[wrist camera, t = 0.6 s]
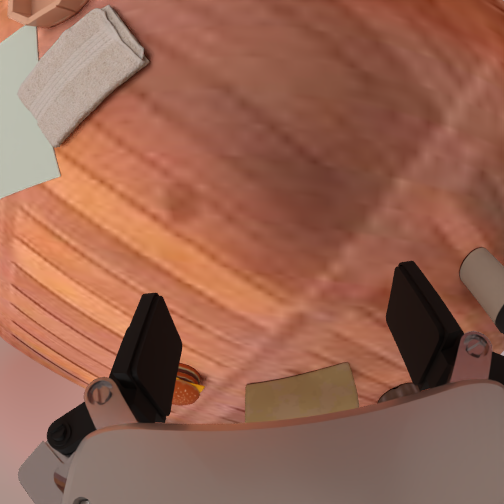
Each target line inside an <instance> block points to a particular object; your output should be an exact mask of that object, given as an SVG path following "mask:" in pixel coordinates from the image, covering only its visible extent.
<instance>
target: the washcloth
mask: <svg viewBox="0 0 504 504" xmlns="http://www.w3.org/2000/svg"><path fill="white" fill-rule="evenodd" d="M148 63H149V60H148V59H147V58H146V57H145V55H144V47H143V48H142V46H141V45H140V44H139V42H138V41H137V39H136V38H135V37H134V35H132V33H131V32H130V31H129V30H128V28H127V27H126V26H125V24H124V23H123V21H122V20H121V19H120V17H119V16H118V14H117V13H116V12H115V10H114V9H113V8H112V7H111V6H110V5H107V6H106V7H104V8H102V9H99V8H95V9H93V10H91V11H90V12H89V13H88V14H86V15H85V16H84V17H83V18H82V19H81V20H79V21H78V22H77V23H76V24H74V25H73V26H72V27H70V28H69V29H66V30H65V31H64V32H63V33H62V35H61V36H60V38H59V39H58V40H57V41H56V42H55V43H54V44H53V46H52V47H51V48H50V49H49V50H48V51H47V52H46V53H45V54H44V55H43V57H41V59H40V60H39V61H38V63H37V64H36V66H35V67H34V68H33V70H32V71H31V72H30V73H29V75H28V76H27V77H26V78H25V80H24V81H23V83H22V84H21V85H20V87H19V90H18V93H17V95H18V97H19V99H20V100H21V102H22V103H23V104H24V106H25V107H26V108H27V109H28V110H29V111H30V112H31V113H32V115H33V116H34V118H35V119H36V120H37V122H38V123H37V125H38V126H39V128H40V129H41V131H42V133H43V134H44V135H45V137H46V138H47V140H48V141H49V143H50V144H51V146H53V147H60V145H61V144H62V143H63V142H64V140H65V139H66V138H67V137H68V136H69V135H70V133H71V132H73V131H74V129H75V128H76V127H77V126H78V125H79V124H80V123H81V122H82V121H83V120H84V119H85V118H86V117H87V116H88V115H89V114H90V113H91V112H92V111H93V110H95V109H96V107H97V106H98V105H99V104H100V103H101V102H102V101H103V100H104V98H106V97H107V96H108V95H109V94H111V93H112V92H113V91H114V90H115V88H117V87H118V86H120V85H121V84H122V83H124V82H125V81H127V80H128V79H129V78H130V77H131V76H133V75H134V74H135V73H137V72H138V71H139V70H140V69H141V68H143V67H145V66H146V65H147V64H148Z"/></svg>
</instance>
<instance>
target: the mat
mask: <svg viewBox="0 0 504 504" xmlns="http://www.w3.org/2000/svg"><path fill="white" fill-rule="evenodd" d="M38 61H39V55H38V41H37V27H36V26H27V25H25V26H23V27H22V28H20V29H19V30H17V31H16V32H15V33H13V34H12V35H11V36H9V37H8V38H7V39H5V40H4V41H3V42H1V43H0V199H1V198H3V197H5V196H8V195H10V194H13V193H15V192H18V191H21V190H23V189H26V188H29V187H31V186H34V185H37V184H40V183H42V182H45V181H48V180H51V179H54V178H57V177H60V176H61V174H60V170H59V167H58V163H57V159H56V155H55V151H54V147H53V146H51V144H50V143H49V141H48V140H47V138H46V137H45V135H44V134H43V133H42V131H41V129H40V128H39V126H38V125H37V123H38V122H37V120H36V119H35V118H34V116H33V115H32V113H31V112H30V111H29V110H28V109H27V108H26V107H25V106H24V104H23V103H22V102H21V100H20V99H19V97H18V95H17V93H18V90H19V87H20V85H21V84H22V83H23V81H24V80H25V78H26V77H27V76H28V75H29V73H30V72H31V71H32V70H33V68H34V67H35V66H36V64H37V63H38Z"/></svg>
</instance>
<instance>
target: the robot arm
mask: <svg viewBox="0 0 504 504" xmlns="http://www.w3.org/2000/svg"><path fill="white" fill-rule="evenodd" d="M386 321H387V324H388V326H389V329H390V331H391V333H392V335H393V337H394V340H395V342H396V344H397V346H398V349H399V351H400V353H401V355H402V358H403V360H404V362H405V365H406V367H407V369H408V372H409V374H410V377H411V379H412V382H413V384H414V385H418V388H419V390H420V391H421V392H418V393H415V394H411V395H408V396H404V397H400V398H397V399H393V400H389V401H385V402H381V403H377V404H373V405H369V406H364V407H360V408H355V409H350V410H345V411H339V412H334V413H328V414H322V415H316V416H309V417H302V418H294V419H286V420H276V421H265V422H252V423H233V424H164V423H165V420H166V416H169V415H170V411H171V405H172V400H173V394H174V389H175V383H176V378H177V372H178V367H179V362H180V357H181V352H182V341H181V339H180V336H179V334H178V332H177V330H176V327H175V325H174V323H173V320H172V318H171V315H170V313H169V311H168V308H167V306H166V303H165V301H164V299H163V297H162V296H159V295H158V294H157V293H148V294H143V295H142V297H141V299H140V302H139V304H138V307H137V309H136V311H135V314H134V316H133V319H132V321H131V324H130V326H129V327H128V329H127V330H126V333H125V335H124V338H123V341H122V343H121V346H120V348H119V351H118V354H117V356H116V359H115V362H114V365H113V367H112V370H111V373H110V376H109V378H107V377H101V378H97V379H95V380H93V381H92V382H91V383H90V384H89V385H88V386H87V387H86V390H85V392H84V400H85V402H83V403H82V404H80V405H79V406H77V407H76V408H74V409H73V410H71V411H69V412H68V413H66V414H65V415H64V416H62V417H60V418H59V419H57V420H56V421H54V422H53V423H52V424H51V425H50V427H49V429H48V432H47V442H44V441H42V443H41V444H40V445H39V446H38V447H37V448H36V449H35V451H34V452H33V453H32V454H31V455H30V456H29V457H28V459H27V460H26V461H25V462H24V463H23V464H22V465H21V467H20V469H19V472H18V478H19V481H20V483H21V485H22V486H23V488H24V489H25V491H26V492H27V494H28V495H29V496H30V498H31V499H32V500H33V502H34V503H35V504H504V356H502V355H500V354H497V353H495V352H492V345H491V342H490V341H489V339H488V338H487V337H486V336H485V335H484V334H482V333H479V332H475V331H471V332H467V333H465V334H464V333H463V331H462V329H461V328H460V326H459V325H458V323H457V322H456V320H455V318H454V317H453V315H452V314H451V312H450V311H449V309H448V308H447V306H446V305H445V303H444V302H443V301H442V299H441V298H440V296H439V295H438V293H437V292H436V291H435V289H434V288H433V287H432V285H431V284H430V282H429V281H428V280H427V278H426V277H425V276H424V274H423V273H422V272H421V270H420V269H419V268H418V266H417V265H416V264H415V262H414V261H407V262H401V263H399V265H398V267H396V268H395V271H394V277H393V283H392V288H391V294H390V299H389V304H388V309H387V313H386ZM429 388H430V389H429ZM426 389H428V390H426ZM422 390H425V391H422ZM155 422H162V423H155Z"/></svg>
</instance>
